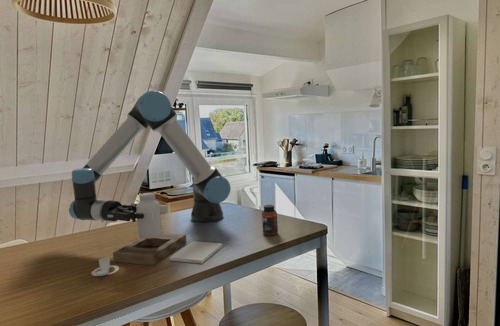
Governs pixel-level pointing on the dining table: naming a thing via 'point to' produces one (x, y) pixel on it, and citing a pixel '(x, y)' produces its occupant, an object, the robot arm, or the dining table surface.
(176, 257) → the board
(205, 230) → the dining table surface
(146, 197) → the pill bottle
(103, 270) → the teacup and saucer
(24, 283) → the dining table surface
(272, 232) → the supplement bottle
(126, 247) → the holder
